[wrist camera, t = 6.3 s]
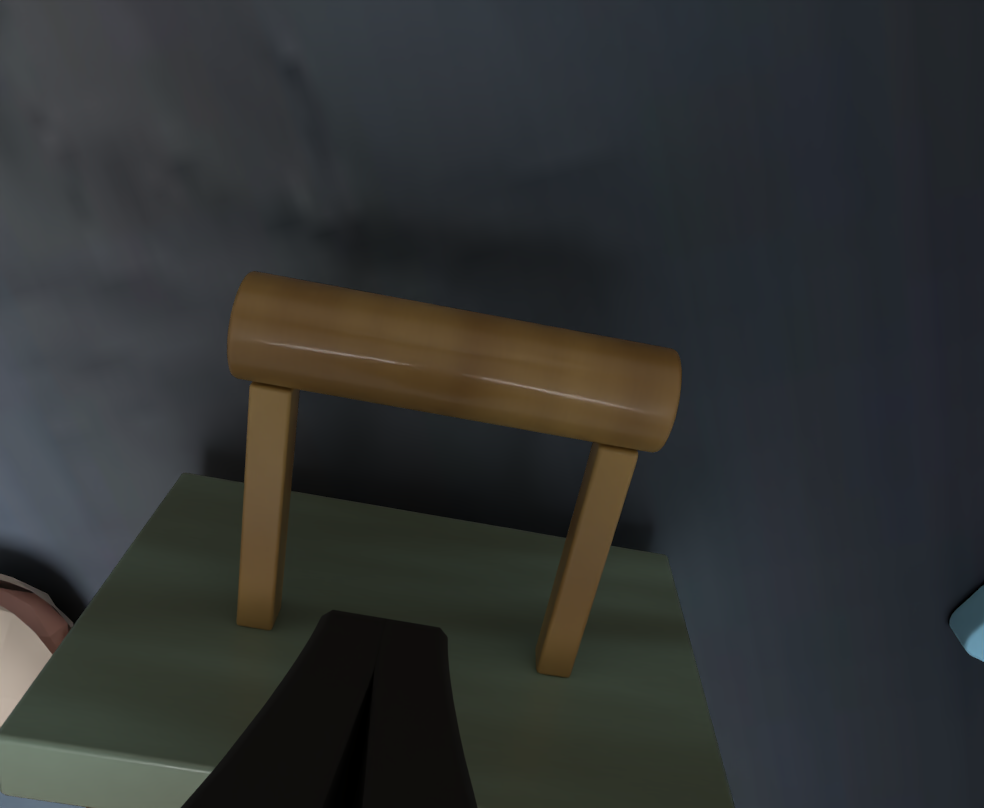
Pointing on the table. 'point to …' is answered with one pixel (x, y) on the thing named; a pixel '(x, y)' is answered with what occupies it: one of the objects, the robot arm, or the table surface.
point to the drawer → (392, 577)
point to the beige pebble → (25, 638)
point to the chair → (970, 624)
